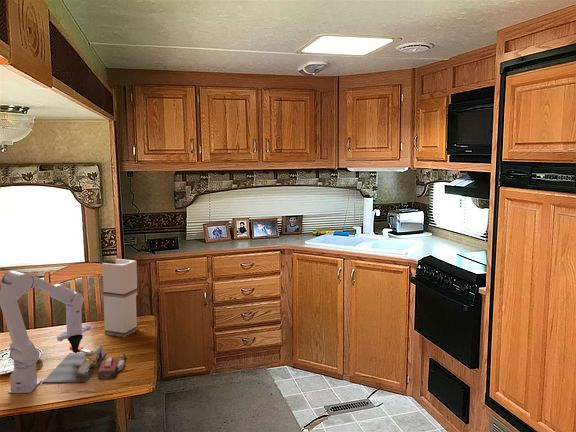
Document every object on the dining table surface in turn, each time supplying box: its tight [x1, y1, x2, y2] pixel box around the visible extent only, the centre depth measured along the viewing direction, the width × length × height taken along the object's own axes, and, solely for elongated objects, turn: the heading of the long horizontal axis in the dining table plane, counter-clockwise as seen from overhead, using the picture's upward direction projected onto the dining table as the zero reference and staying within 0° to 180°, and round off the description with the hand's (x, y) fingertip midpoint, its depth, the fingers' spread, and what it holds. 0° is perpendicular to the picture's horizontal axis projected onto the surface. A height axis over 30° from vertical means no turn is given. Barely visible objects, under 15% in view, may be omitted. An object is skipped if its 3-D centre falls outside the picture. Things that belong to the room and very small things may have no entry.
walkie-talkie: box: [97, 353, 126, 379], centre depth 195 cm, size 9×4×20 cm
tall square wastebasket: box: [101, 258, 139, 338], centre depth 231 cm, size 11×11×35 cm
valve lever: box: [69, 345, 94, 355], centre depth 196 cm, size 12×3×1 cm, turn 62°
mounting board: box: [42, 352, 107, 384], centre depth 194 cm, size 26×16×1 cm, turn 3°
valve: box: [76, 345, 105, 378], centre depth 194 cm, size 22×4×5 cm, turn 3°
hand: (75, 352), depth 196 cm, fingers closed
